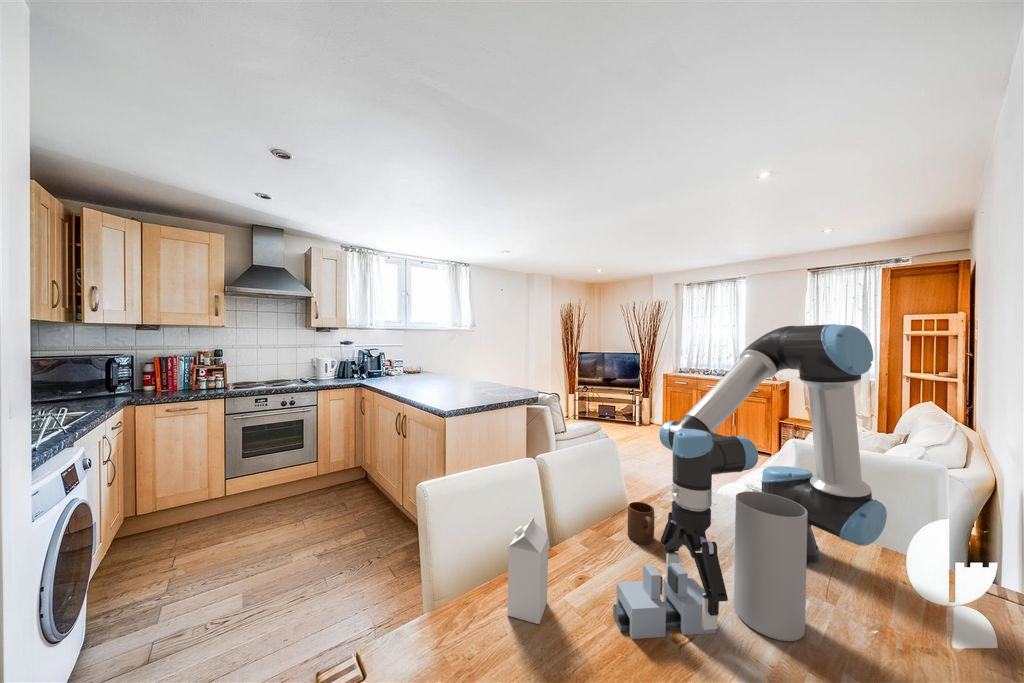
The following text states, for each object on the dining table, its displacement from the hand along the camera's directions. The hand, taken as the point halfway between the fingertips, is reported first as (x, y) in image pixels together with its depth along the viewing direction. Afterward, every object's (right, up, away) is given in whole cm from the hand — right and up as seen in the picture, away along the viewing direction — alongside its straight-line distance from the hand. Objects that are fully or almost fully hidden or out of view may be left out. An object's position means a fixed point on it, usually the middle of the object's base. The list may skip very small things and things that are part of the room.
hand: (689, 602), depth 78 cm
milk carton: (-34, -3, +2) cm, 35 cm away
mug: (+1, -4, +30) cm, 30 cm away
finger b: (0, -4, +1) cm, 4 cm away
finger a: (-11, -3, -1) cm, 12 cm away
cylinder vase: (+17, -4, 0) cm, 17 cm away
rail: (-6, -3, 0) cm, 7 cm away
